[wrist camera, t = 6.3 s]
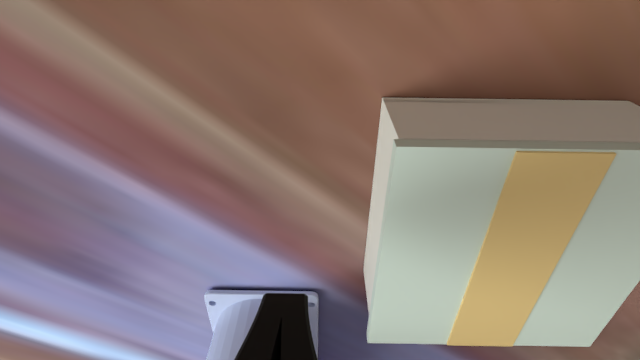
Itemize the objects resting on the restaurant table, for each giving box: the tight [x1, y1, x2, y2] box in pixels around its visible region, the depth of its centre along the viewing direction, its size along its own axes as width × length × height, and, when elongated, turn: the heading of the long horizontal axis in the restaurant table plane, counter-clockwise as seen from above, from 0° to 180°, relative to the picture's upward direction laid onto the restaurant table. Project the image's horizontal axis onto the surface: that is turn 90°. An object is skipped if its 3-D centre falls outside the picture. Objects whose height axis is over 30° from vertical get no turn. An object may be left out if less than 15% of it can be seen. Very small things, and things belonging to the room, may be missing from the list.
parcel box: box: [363, 97, 640, 312], centre depth 19 cm, size 12×12×4 cm
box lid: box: [367, 139, 640, 347], centre depth 16 cm, size 12×12×1 cm
